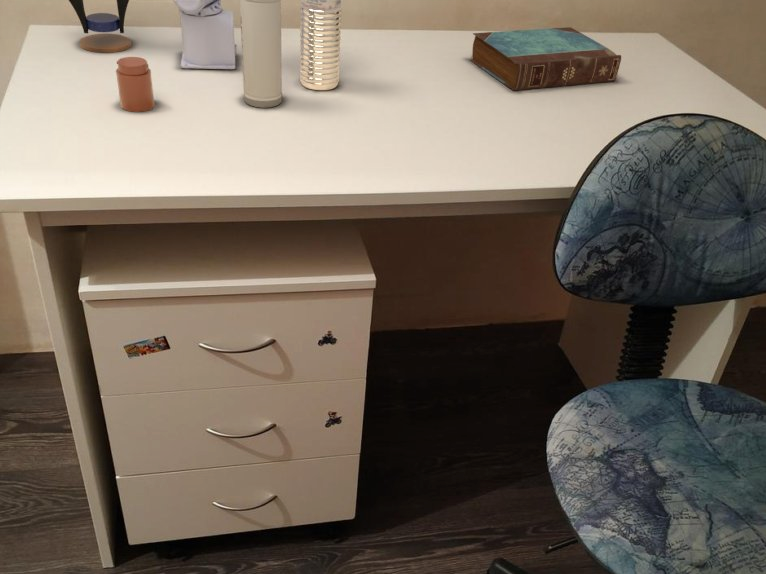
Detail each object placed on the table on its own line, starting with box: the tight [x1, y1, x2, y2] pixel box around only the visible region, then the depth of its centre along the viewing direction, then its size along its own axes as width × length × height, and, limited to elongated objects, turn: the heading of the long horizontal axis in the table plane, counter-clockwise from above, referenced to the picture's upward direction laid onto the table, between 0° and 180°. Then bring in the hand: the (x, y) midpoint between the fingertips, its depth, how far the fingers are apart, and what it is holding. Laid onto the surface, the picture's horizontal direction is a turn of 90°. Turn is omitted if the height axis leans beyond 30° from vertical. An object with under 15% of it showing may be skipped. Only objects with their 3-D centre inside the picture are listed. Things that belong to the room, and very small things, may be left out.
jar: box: [115, 56, 156, 113], centre depth 126 cm, size 5×5×7 cm
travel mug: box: [239, 0, 283, 109], centre depth 127 cm, size 6×7×20 cm
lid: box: [86, 12, 120, 33], centre depth 146 cm, size 6×6×2 cm
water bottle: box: [299, 0, 342, 91], centre depth 133 cm, size 7×7×25 cm
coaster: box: [79, 33, 132, 54], centre depth 148 cm, size 9×9×1 cm
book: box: [469, 26, 622, 92], centre depth 154 cm, size 23×18×5 cm
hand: (104, 31), depth 147 cm, fingers closed on lid, 5 cm apart
